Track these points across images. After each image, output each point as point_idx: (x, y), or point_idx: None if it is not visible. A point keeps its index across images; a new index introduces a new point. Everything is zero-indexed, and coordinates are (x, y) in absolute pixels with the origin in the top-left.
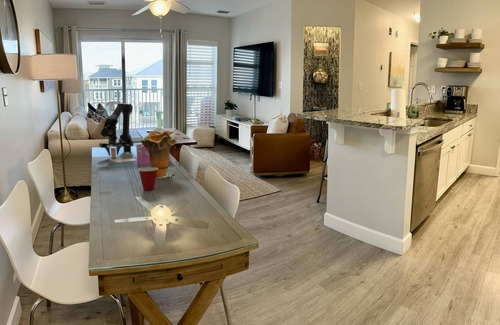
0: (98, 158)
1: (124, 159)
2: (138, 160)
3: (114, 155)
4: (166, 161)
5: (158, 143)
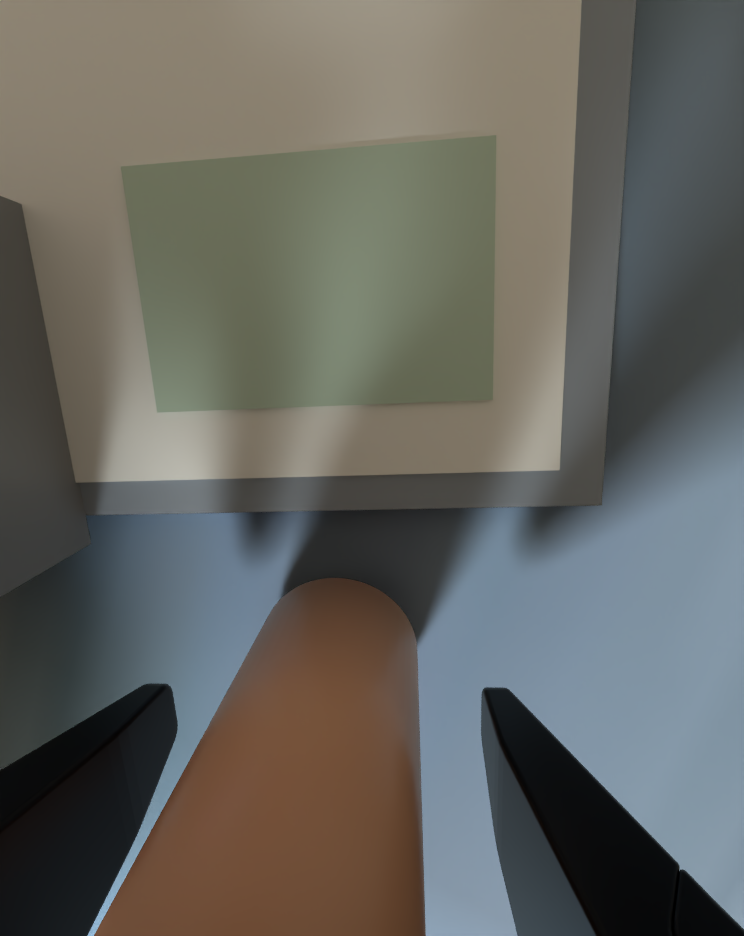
0: (730, 903)
1: (40, 66)
2: None
3: (303, 641)
4: None
5: None
